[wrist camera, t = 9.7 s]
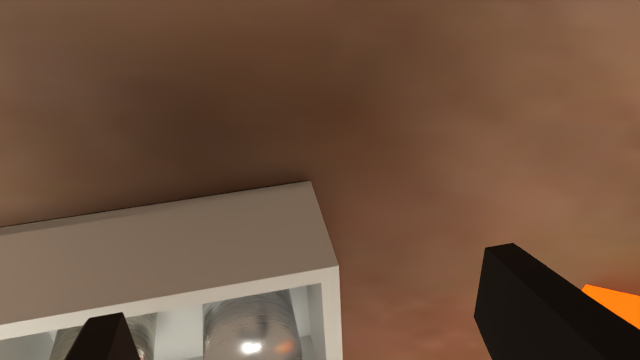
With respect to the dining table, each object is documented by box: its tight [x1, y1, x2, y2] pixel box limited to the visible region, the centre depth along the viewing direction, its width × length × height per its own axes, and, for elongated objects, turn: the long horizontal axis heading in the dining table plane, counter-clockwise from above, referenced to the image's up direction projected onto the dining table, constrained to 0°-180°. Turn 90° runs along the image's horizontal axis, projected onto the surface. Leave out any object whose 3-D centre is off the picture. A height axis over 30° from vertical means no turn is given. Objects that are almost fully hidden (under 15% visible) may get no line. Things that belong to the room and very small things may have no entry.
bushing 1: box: [49, 312, 157, 360], centre depth 20 cm, size 4×4×4 cm
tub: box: [0, 181, 343, 360], centre depth 21 cm, size 12×9×5 cm
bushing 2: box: [202, 289, 302, 360], centre depth 21 cm, size 4×4×4 cm
